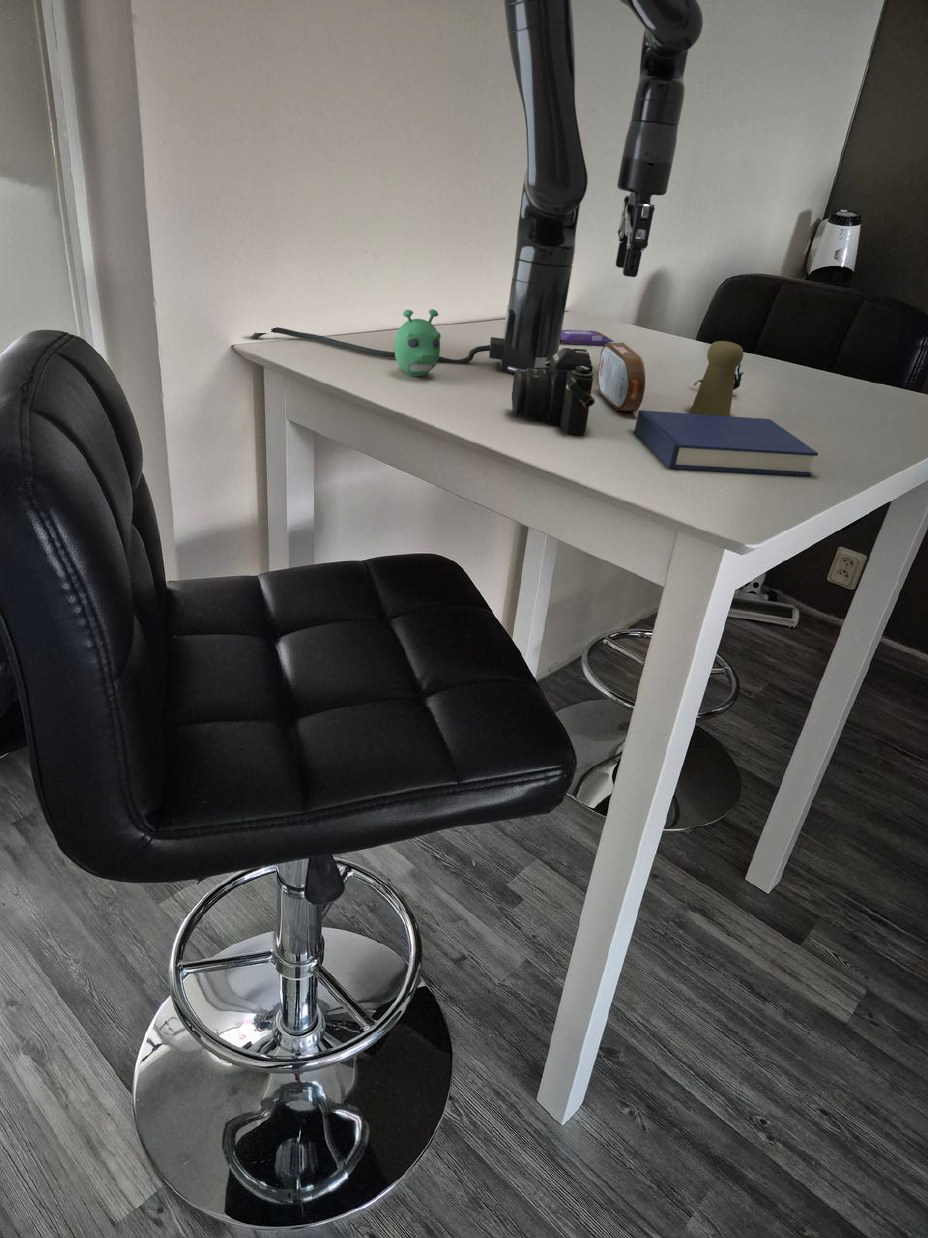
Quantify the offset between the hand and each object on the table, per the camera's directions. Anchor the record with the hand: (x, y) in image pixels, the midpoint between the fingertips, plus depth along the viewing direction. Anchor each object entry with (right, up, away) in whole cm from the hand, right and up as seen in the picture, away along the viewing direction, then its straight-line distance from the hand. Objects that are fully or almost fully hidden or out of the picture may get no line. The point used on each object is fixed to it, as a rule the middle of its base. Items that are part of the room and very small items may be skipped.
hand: (625, 271), depth 140 cm
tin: (-2, -22, -4) cm, 22 cm away
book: (+9, -33, -20) cm, 39 cm away
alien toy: (-33, -18, -3) cm, 38 cm away
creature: (+17, -17, +9) cm, 26 cm away
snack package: (-3, -1, +32) cm, 32 cm away
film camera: (-14, -27, -14) cm, 33 cm away
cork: (+13, -24, -3) cm, 27 cm away
